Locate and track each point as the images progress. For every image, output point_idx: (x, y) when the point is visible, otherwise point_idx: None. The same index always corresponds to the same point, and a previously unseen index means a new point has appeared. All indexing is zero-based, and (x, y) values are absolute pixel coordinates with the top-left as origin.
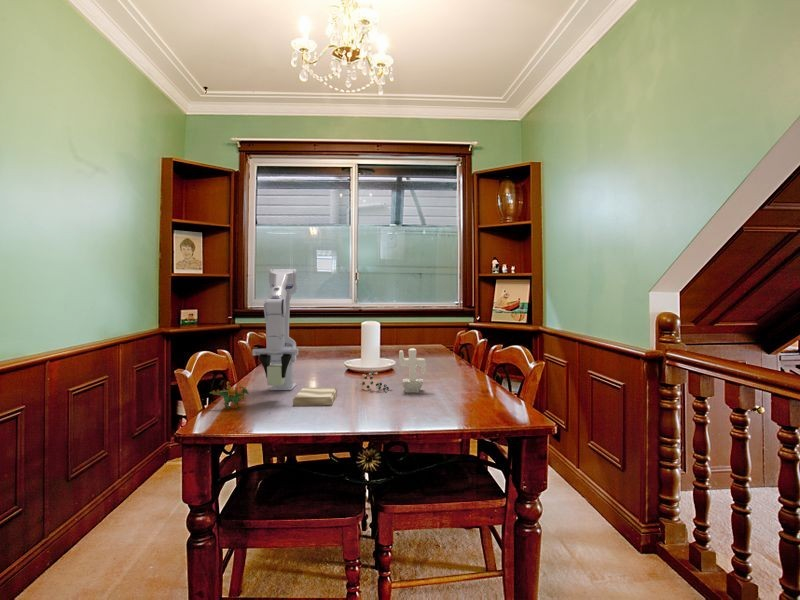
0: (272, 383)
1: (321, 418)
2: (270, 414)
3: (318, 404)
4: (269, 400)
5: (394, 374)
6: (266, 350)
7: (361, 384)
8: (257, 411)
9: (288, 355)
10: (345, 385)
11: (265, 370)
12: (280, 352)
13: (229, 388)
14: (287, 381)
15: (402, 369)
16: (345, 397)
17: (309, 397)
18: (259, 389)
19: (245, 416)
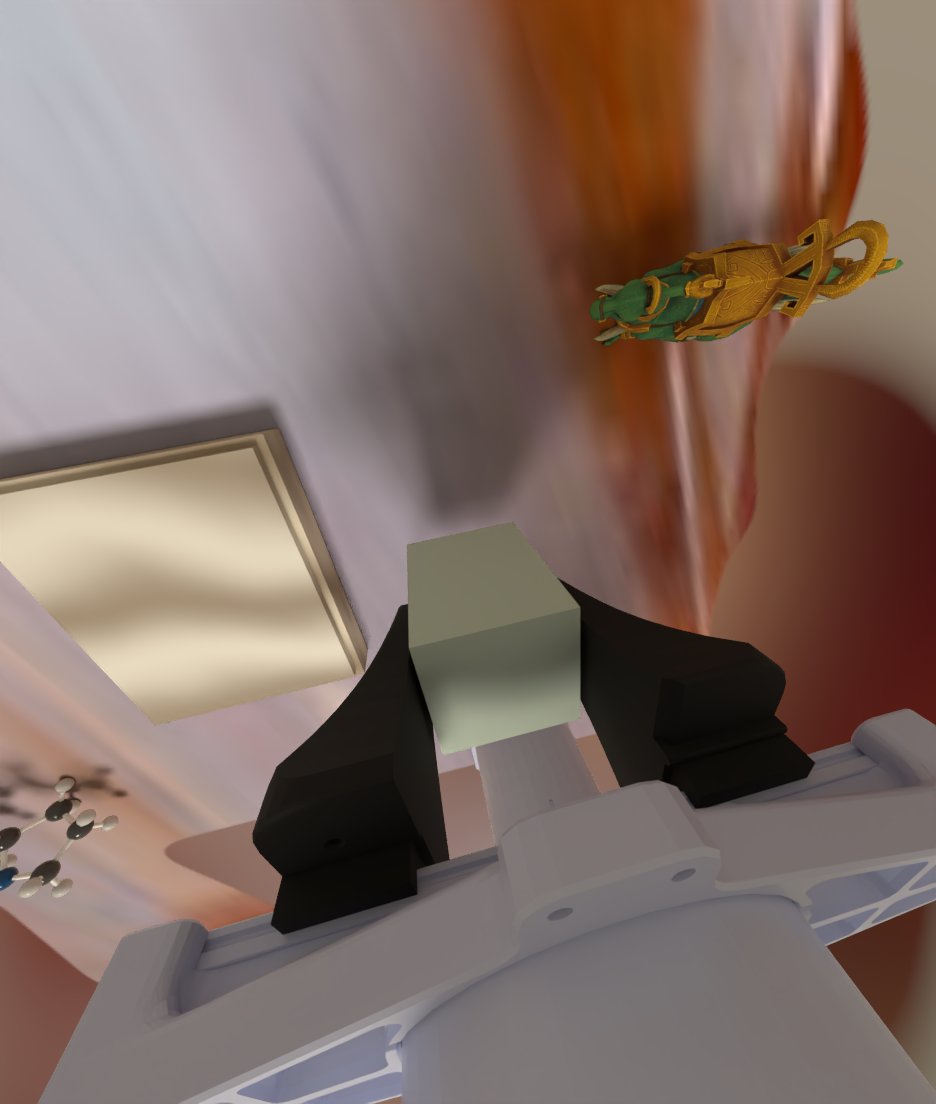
0: (476, 536)
1: None
2: (299, 124)
3: (91, 462)
4: (487, 519)
5: None
6: (800, 872)
7: (110, 821)
8: (450, 228)
9: (307, 881)
10: (254, 812)
11: (583, 597)
12: (413, 907)
13: (788, 269)
14: None
15: None
16: (77, 660)
17: (132, 470)
18: None
19: (479, 23)
